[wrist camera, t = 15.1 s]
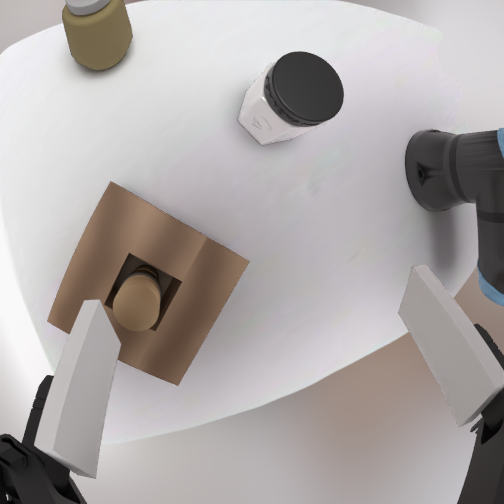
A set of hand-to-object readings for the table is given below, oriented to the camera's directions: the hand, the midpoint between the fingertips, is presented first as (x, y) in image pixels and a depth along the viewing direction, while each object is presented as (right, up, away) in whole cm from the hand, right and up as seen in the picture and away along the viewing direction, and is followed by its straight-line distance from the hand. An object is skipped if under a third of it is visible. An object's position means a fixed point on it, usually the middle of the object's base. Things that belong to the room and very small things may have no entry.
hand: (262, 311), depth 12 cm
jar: (+2, +21, +26) cm, 33 cm away
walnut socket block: (-14, -1, +24) cm, 27 cm away
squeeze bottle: (-20, +29, +18) cm, 39 cm away
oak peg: (-13, -1, +23) cm, 27 cm away
